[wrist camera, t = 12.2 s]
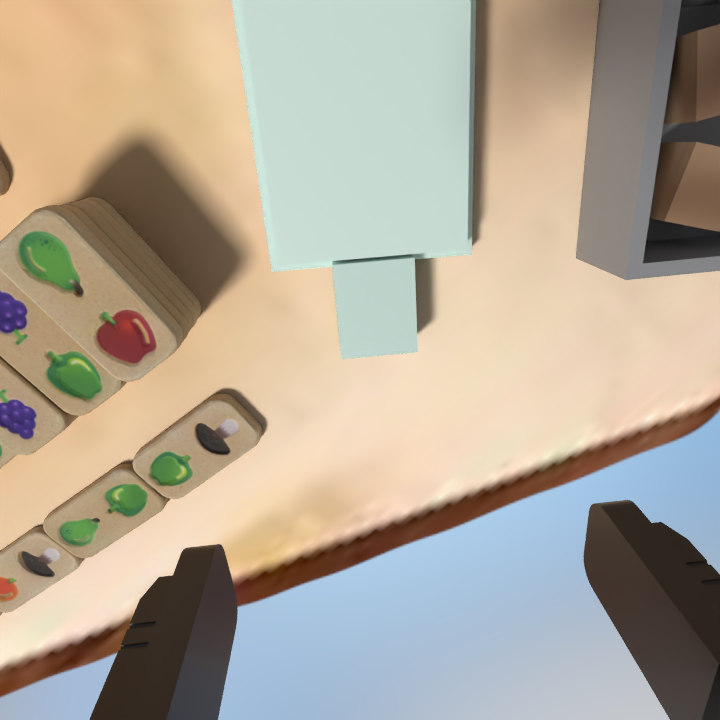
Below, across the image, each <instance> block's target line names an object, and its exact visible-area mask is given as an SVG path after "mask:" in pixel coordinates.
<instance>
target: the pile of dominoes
mask: <svg viewBox="0 0 720 720" xmlns="http://www.w3.org/2000/svg"><path fill="white" fill-rule="evenodd" d="M9 186H10V177H9V173H8V171H7V169H6V167H5V166H4V164H3V162H2V160H1V158H0V195H3V194H5V193H6V192H7V191H8V190H9ZM200 315H201V305H200V302H199V301H198V299H197V298H196V297H195V296H194V294H193V293H192V292H191V291H190V290H189V289H188V288H187V287H186V286H185V285H184V284H183V283H182V281H181V280H180V279H179V278H178V277H177V276H176V275H175V274H174V273H173V272H172V271H171V270H170V268H169V267H168V266H167V265H166V264H165V263H164V262H163V261H162V260H161V259H160V258H159V257H158V255H157V254H156V253H155V252H154V251H153V250H152V249H151V248H150V247H149V246H148V245H147V244H146V243H145V241H144V240H143V239H142V238H141V237H140V236H139V235H138V234H137V233H136V232H135V231H134V230H133V228H132V227H131V226H130V225H129V224H128V223H127V222H126V221H125V220H124V219H123V218H122V217H121V215H120V214H119V213H118V212H117V211H116V210H115V209H114V208H113V207H112V206H111V205H110V204H109V203H108V202H106V201H105V200H103V199H101V198H97V197H89V198H86V199H83V200H79V201H76V202H70V203H67V204H64V205H59V206H57V205H53V206H46V207H43V208H40V209H37V210H35V211H34V212H32V213H31V214H30V215H29V216H28V217H26V218H25V219H24V220H23V221H22V222H21V223H20V224H19V225H18V226H17V227H16V228H14V229H13V230H12V231H11V232H10V233H9V234H8V235H7V236H6V237H5V238H4V239H3V240H1V241H0V468H1V467H3V466H4V465H5V464H6V463H8V462H9V461H10V460H11V459H13V458H14V457H15V456H16V455H17V454H19V455H29V454H32V453H34V452H36V451H37V450H38V449H40V448H41V447H42V446H44V445H45V444H46V443H48V442H49V441H50V440H52V439H53V438H54V437H56V436H57V435H58V434H60V433H61V432H62V431H64V430H65V429H66V428H67V427H68V426H69V425H70V424H71V423H72V422H73V421H74V420H75V419H76V418H77V417H78V416H81V415H85V414H88V413H89V412H91V411H92V410H94V409H95V408H96V407H98V406H99V405H100V404H102V403H103V402H104V401H106V400H107V399H108V398H110V397H111V396H112V395H114V394H115V393H116V392H117V391H119V390H120V389H121V388H122V387H123V386H124V385H125V384H126V383H127V382H131V381H135V380H139V379H141V378H142V377H143V376H145V375H146V374H147V373H148V372H150V371H151V370H152V369H154V368H155V367H156V366H158V365H159V364H160V363H162V362H163V361H164V360H165V359H167V358H168V357H169V356H171V355H172V354H173V353H174V352H175V351H176V350H177V349H178V348H179V346H180V345H181V343H182V342H183V340H184V339H185V338H186V336H187V335H188V332H189V331H190V329H191V328H192V327H193V326H194V325H195V323H196V321H197V319H198V318H199V316H200ZM261 434H262V428H261V425H260V424H259V423H258V422H257V421H256V420H255V419H254V418H253V417H252V416H251V414H250V413H249V412H248V411H247V410H246V409H245V408H244V407H243V406H242V405H241V404H240V403H239V402H238V401H237V400H236V399H234V398H233V397H232V396H231V395H229V394H225V393H220V394H215V395H213V396H211V397H210V398H209V399H207V400H206V401H205V402H203V403H202V404H201V405H199V406H198V407H196V408H195V409H194V410H192V411H191V412H190V413H188V414H187V415H186V416H184V417H183V418H182V419H180V420H179V421H177V422H176V423H175V424H173V425H172V426H171V427H169V428H168V429H167V430H165V431H164V432H163V433H161V434H160V435H159V436H157V437H156V438H155V439H153V440H152V441H151V442H149V443H148V444H146V445H145V446H144V447H142V448H141V449H140V450H139V451H138V452H137V453H136V455H135V457H134V459H133V463H132V464H131V463H123V464H120V465H118V466H116V467H115V468H113V469H112V470H111V471H109V472H108V473H106V474H105V475H103V476H102V477H101V478H99V479H98V480H96V481H95V482H94V483H92V484H91V485H89V486H88V487H86V488H85V489H84V490H82V491H81V492H79V493H78V494H76V495H75V496H74V497H72V498H71V499H69V500H68V501H66V502H65V503H64V504H62V505H61V506H59V507H58V508H56V509H55V510H54V511H52V512H51V513H50V514H49V515H48V516H47V517H46V519H45V520H44V523H43V526H39V527H35V528H33V529H31V530H30V531H28V532H27V533H26V534H24V535H23V536H21V537H20V538H18V539H17V540H16V541H14V542H13V543H11V544H10V545H8V546H7V547H6V548H4V549H3V550H1V551H0V615H1V614H2V612H5V613H7V612H11V611H13V610H15V609H16V608H18V607H19V606H21V605H23V604H24V603H26V602H27V601H29V600H30V599H32V598H33V597H35V596H36V595H38V594H39V593H41V592H42V591H44V590H45V589H47V588H48V587H50V586H51V585H53V584H54V583H56V582H58V581H59V580H61V579H62V578H64V577H65V576H67V575H68V574H70V573H71V572H73V571H74V570H76V569H77V568H78V567H79V566H80V564H81V563H82V561H83V558H88V557H92V556H94V555H95V554H97V553H98V552H100V551H101V550H103V549H104V548H106V547H107V546H109V545H110V544H112V543H113V542H115V541H117V540H118V539H120V538H121V537H123V536H124V535H126V534H127V533H129V532H130V531H132V530H133V529H135V528H136V527H138V526H139V525H141V524H142V523H144V522H145V521H147V520H149V519H150V518H152V517H153V516H155V515H156V514H158V513H159V512H161V511H162V510H163V508H164V507H165V505H166V503H167V501H168V498H169V499H179V498H181V497H183V496H185V495H186V494H188V493H189V492H190V491H192V490H193V489H195V488H196V487H198V486H199V485H201V484H202V483H204V482H205V481H206V480H208V479H209V478H210V477H212V476H213V475H215V474H216V473H217V472H219V471H220V470H222V469H223V468H225V467H226V466H227V465H229V464H230V463H232V462H233V461H235V460H236V459H238V458H239V457H241V456H242V455H243V454H245V453H246V452H248V451H249V450H250V449H252V448H253V447H255V446H256V445H257V443H258V442H259V440H260V438H261Z"/></svg>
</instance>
